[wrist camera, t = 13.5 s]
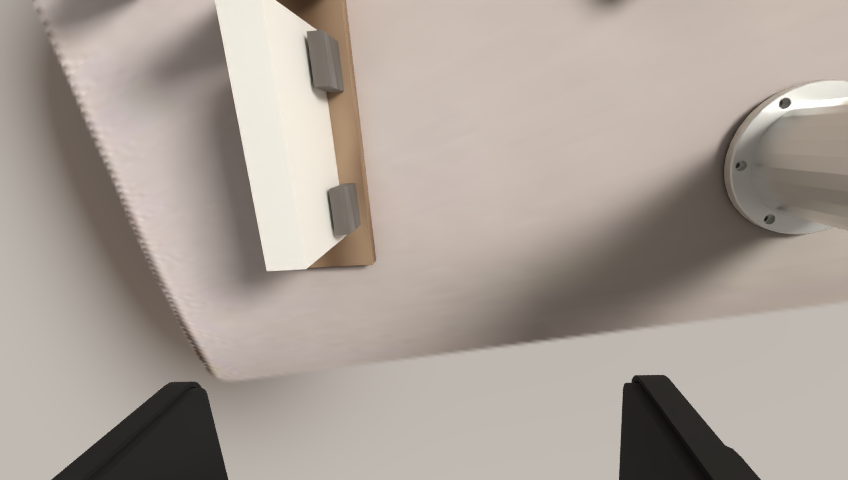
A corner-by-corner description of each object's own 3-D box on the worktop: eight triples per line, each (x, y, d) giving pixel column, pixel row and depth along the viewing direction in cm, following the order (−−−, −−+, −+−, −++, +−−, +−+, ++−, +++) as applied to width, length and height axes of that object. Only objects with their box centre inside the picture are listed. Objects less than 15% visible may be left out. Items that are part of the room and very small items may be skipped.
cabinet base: (341, -32, 34) (260, -144, 20) (376, 260, 40) (330, 322, 27) (253, -20, 35) (118, -119, 21) (300, 263, 41) (219, 325, 28)
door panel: (318, 30, 34) (259, -12, 24) (346, 235, 38) (306, 269, 29) (273, 36, 34) (198, -3, 25) (306, 238, 39) (253, 271, 29)
